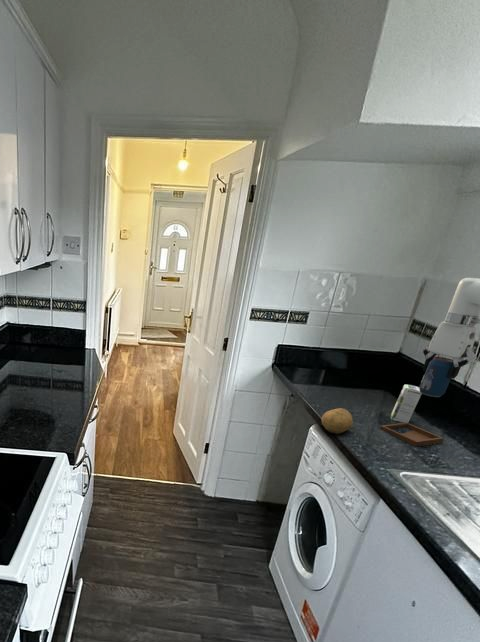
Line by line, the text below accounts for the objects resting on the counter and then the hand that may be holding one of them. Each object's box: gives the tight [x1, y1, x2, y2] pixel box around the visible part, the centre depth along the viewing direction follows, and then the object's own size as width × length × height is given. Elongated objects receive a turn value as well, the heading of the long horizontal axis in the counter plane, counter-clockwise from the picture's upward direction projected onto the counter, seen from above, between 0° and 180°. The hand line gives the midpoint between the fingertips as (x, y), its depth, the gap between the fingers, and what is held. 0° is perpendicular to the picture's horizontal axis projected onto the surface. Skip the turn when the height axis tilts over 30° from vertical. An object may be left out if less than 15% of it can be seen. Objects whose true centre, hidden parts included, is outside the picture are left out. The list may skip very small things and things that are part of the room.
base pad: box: [379, 422, 444, 447], centre depth 151 cm, size 14×14×2 cm
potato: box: [321, 407, 354, 435], centre depth 151 cm, size 10×14×8 cm
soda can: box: [418, 356, 454, 398], centre depth 136 cm, size 7×7×12 cm
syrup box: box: [390, 384, 423, 423], centre depth 162 cm, size 6×6×14 cm
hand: (438, 374), depth 136 cm, fingers closed on soda can, 7 cm apart
